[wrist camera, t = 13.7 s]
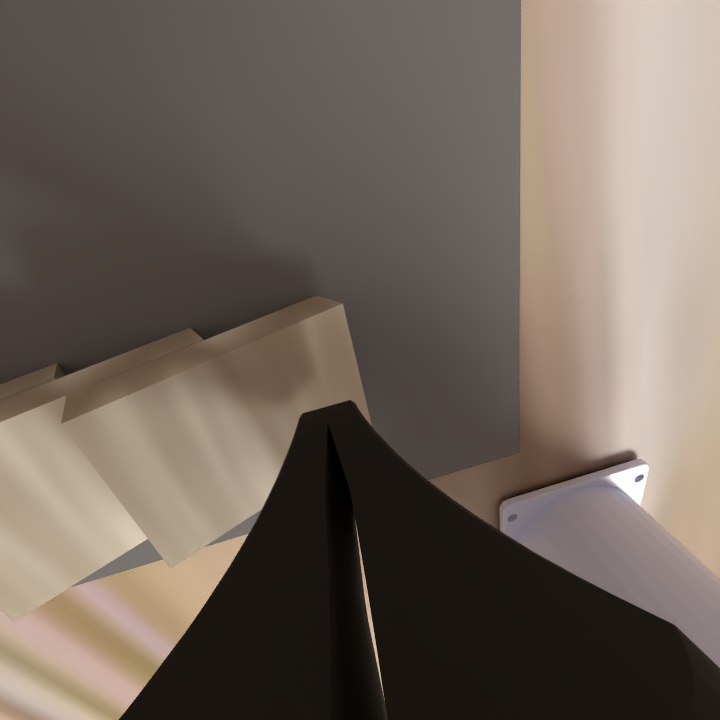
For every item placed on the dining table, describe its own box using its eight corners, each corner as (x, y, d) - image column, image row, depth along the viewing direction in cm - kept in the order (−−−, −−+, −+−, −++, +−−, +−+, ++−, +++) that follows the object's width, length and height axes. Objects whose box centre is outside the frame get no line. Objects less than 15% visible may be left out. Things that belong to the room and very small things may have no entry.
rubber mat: (515, 448, 17) (518, 452, 16) (-116, 636, 15) (-124, 645, 15) (514, -131, 8) (521, -142, 8) (-939, 136, 6) (-992, 134, 6)
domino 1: (202, 339, 10) (-155, 485, 7) (261, 467, 12) (14, 621, 9) (190, 327, 11) (-120, 447, 8) (245, 446, 14) (22, 575, 10)
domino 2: (342, 303, 10) (61, 423, 7) (374, 435, 13) (170, 568, 10) (316, 295, 12) (66, 395, 9) (349, 417, 14) (162, 529, 11)
